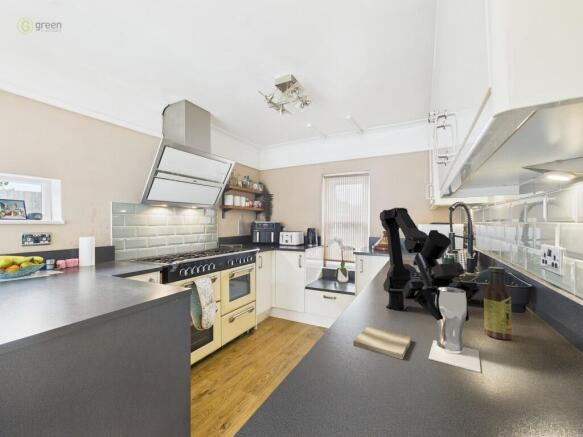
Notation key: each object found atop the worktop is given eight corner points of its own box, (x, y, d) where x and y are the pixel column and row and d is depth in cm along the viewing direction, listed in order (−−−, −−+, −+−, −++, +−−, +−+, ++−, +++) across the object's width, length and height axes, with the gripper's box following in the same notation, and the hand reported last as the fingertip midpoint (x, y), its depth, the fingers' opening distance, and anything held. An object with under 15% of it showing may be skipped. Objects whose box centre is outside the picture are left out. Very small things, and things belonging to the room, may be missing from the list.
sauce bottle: (512, 343, 70) (511, 270, 71) (484, 336, 74) (483, 267, 74) (510, 335, 75) (509, 267, 76) (484, 329, 79) (483, 265, 80)
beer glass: (437, 339, 71) (437, 285, 71) (467, 347, 66) (468, 289, 67) (432, 348, 65) (432, 289, 66) (464, 358, 61) (465, 294, 61)
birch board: (367, 330, 77) (367, 326, 77) (411, 341, 70) (411, 336, 70) (353, 345, 67) (353, 340, 67) (402, 359, 60) (402, 354, 60)
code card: (433, 340, 70) (433, 340, 70) (478, 351, 65) (478, 350, 65) (428, 359, 61) (428, 358, 61) (480, 373, 55) (480, 372, 55)
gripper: (407, 251, 71) (428, 303, 59) (474, 252, 70) (509, 305, 59) (395, 274, 78) (412, 324, 67) (456, 275, 78) (483, 326, 67)
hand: (453, 320), depth 65 cm, fingers closed on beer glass, 7 cm apart
